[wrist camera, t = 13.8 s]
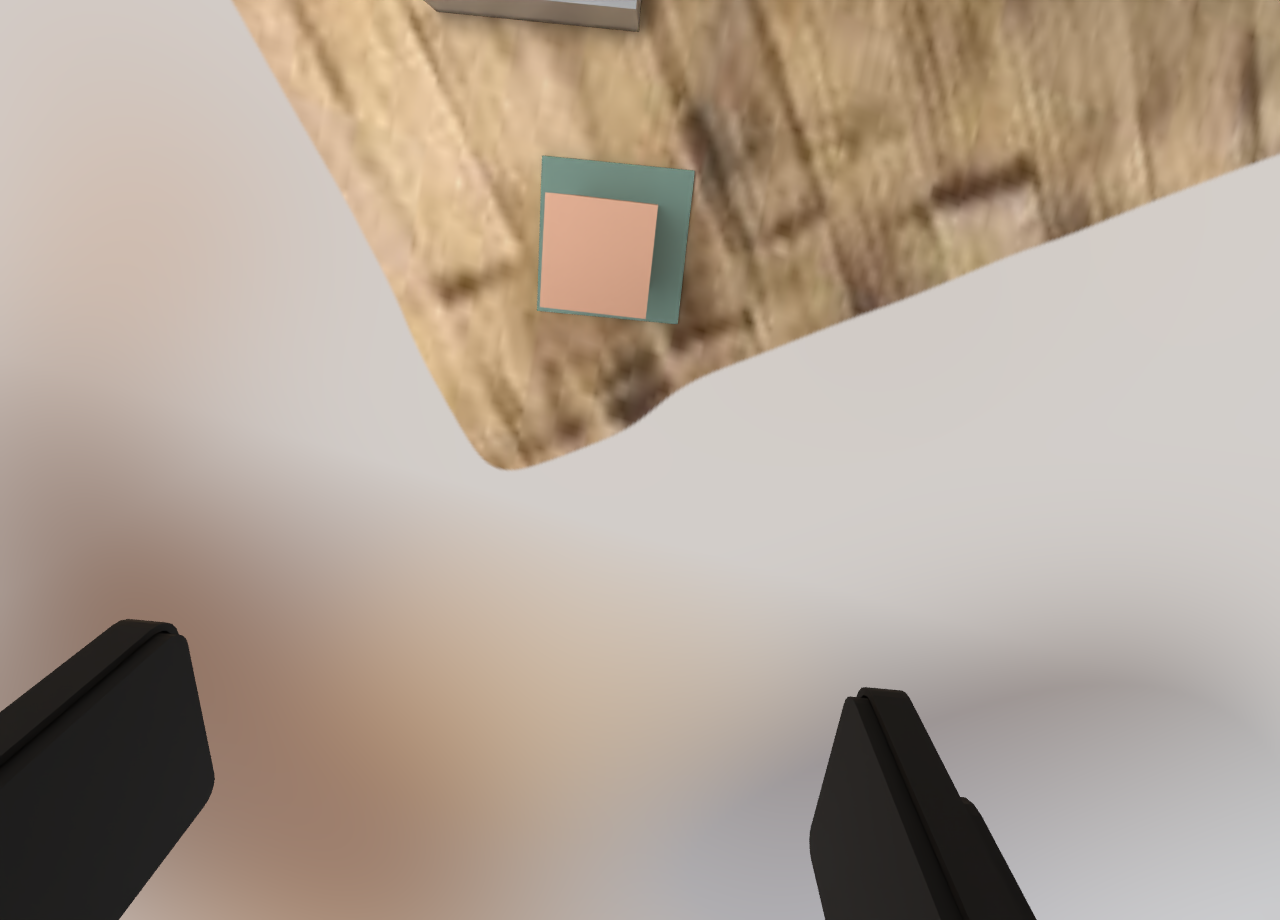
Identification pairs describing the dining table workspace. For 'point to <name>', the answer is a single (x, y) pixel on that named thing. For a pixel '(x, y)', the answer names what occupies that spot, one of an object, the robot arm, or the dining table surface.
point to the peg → (597, 254)
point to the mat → (636, 186)
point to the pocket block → (552, 11)
